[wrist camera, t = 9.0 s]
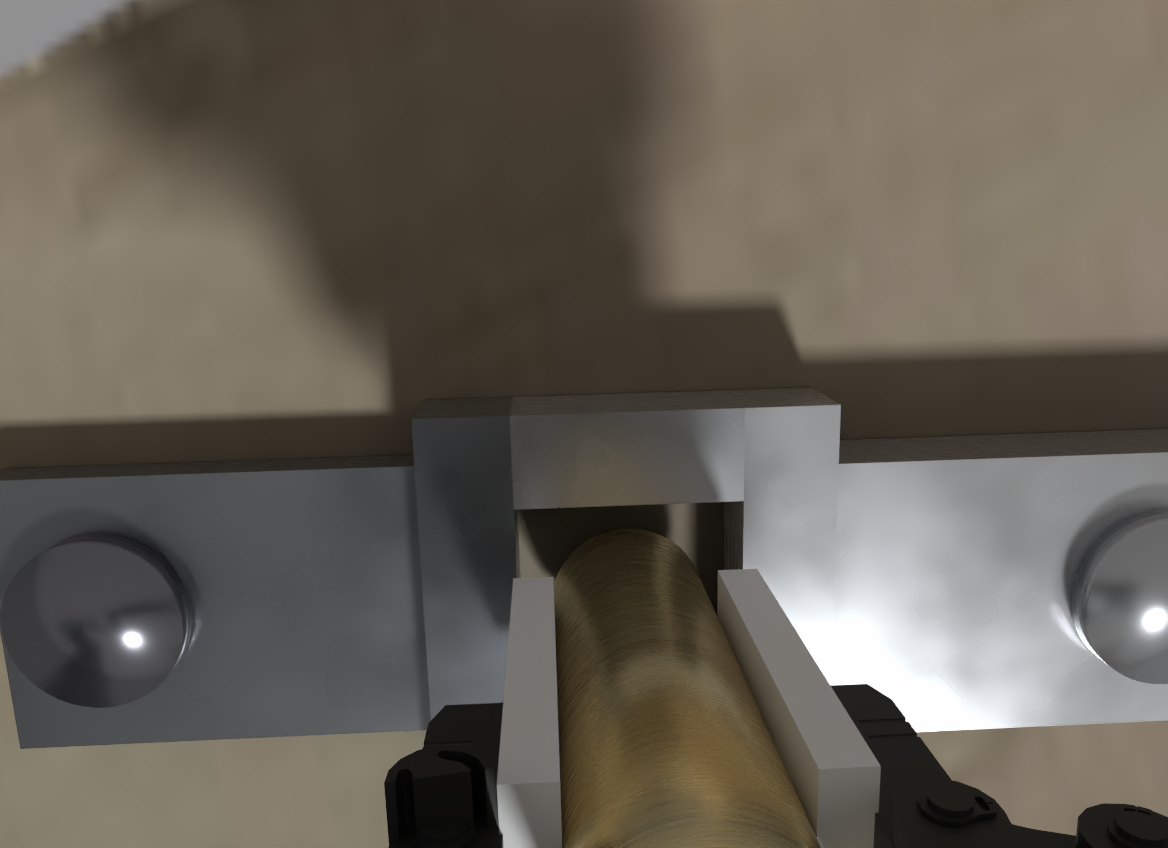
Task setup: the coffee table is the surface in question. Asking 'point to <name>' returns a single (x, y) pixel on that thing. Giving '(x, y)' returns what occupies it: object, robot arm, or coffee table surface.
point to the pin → (659, 710)
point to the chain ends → (563, 480)
